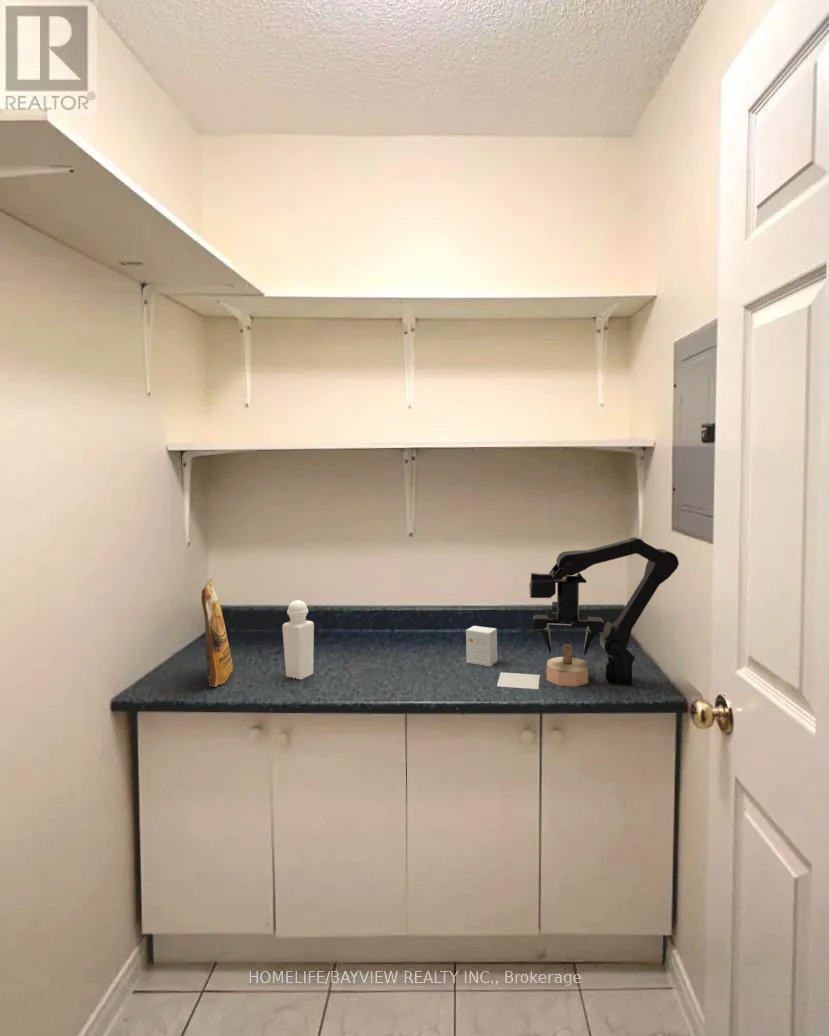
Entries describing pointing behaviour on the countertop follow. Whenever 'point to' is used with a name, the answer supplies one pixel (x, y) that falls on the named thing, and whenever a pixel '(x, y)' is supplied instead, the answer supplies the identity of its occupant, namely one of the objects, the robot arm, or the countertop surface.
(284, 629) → the white square bottle
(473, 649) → the small box
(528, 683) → the mat
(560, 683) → the bowl
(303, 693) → the countertop surface
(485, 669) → the countertop surface
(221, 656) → the pancake mix bag
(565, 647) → the lid
